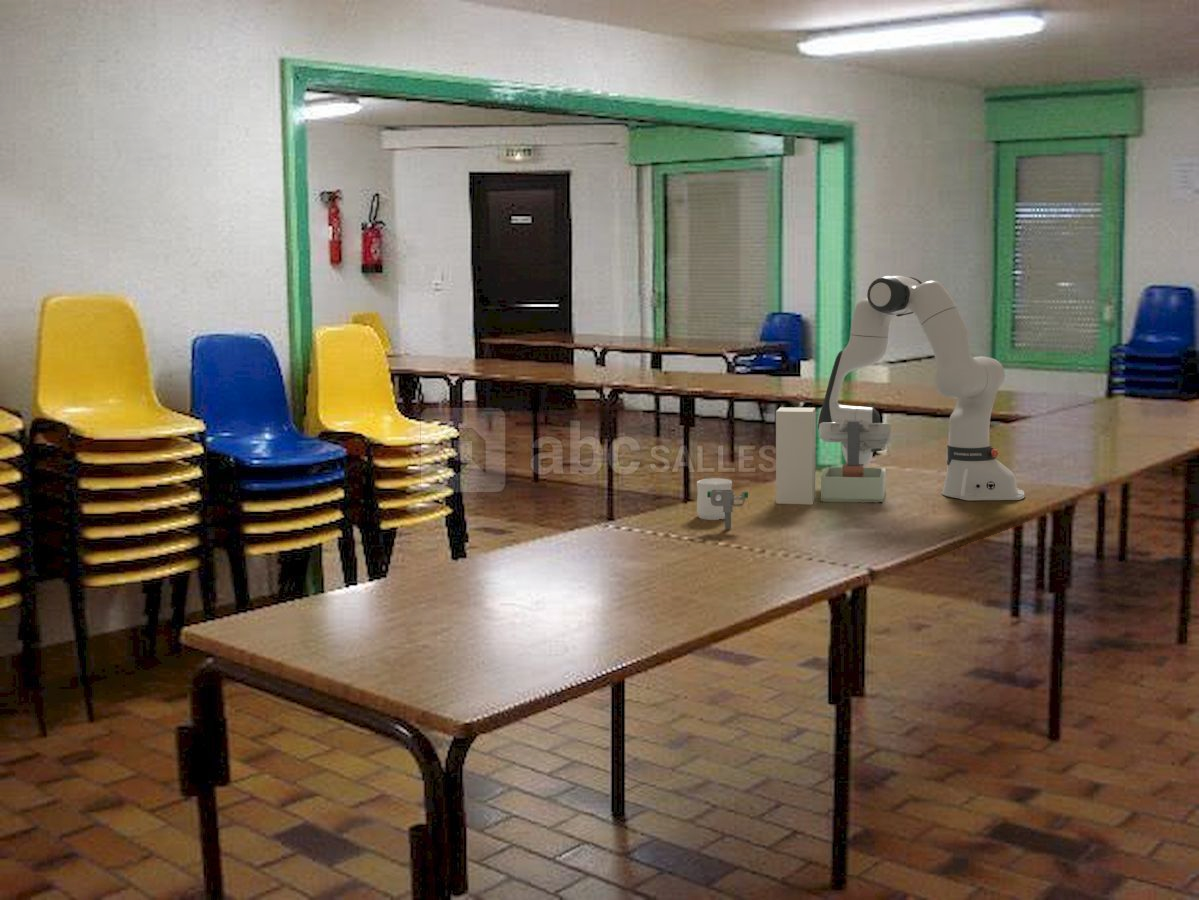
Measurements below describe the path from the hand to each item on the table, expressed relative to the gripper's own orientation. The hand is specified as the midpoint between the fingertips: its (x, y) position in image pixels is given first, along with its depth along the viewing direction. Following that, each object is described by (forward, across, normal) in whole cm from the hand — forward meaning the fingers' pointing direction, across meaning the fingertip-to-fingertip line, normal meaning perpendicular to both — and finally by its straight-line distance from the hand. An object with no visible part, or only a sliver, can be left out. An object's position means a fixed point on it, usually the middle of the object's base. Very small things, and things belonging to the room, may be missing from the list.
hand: (853, 421), depth 372 cm
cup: (+16, -34, +35) cm, 51 cm away
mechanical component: (+29, -28, +42) cm, 59 cm away
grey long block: (-7, 0, +6) cm, 10 cm away
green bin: (-12, 0, +18) cm, 22 cm away
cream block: (-5, -15, +22) cm, 28 cm away
